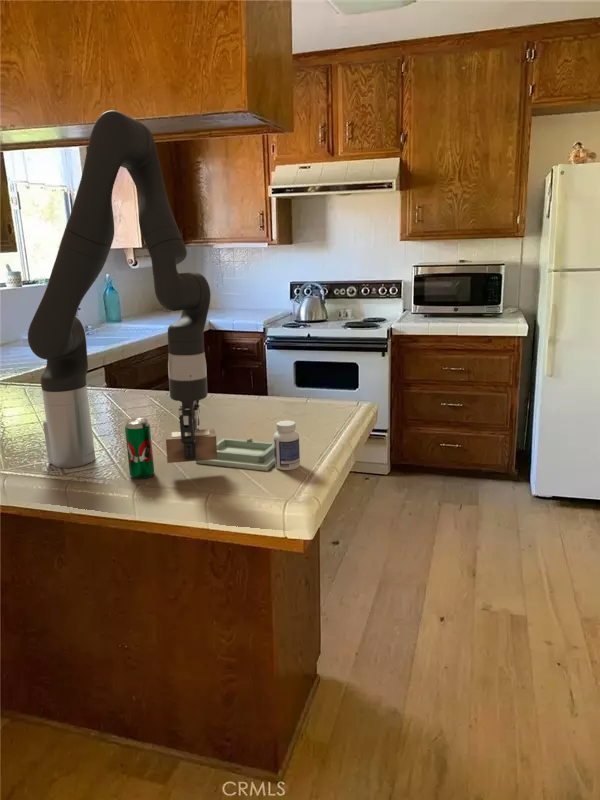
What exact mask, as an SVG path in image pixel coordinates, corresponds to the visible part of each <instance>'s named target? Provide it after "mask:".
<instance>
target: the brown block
mask: <svg viewBox="0 0 600 800" xmlns="http://www.w3.org/2000/svg"><path fill="white" fill-rule="evenodd" d="M186 436H191V433H190V432H186ZM195 438H196V441H195V450H196V458H195V460H185V458H184V443H182V442H181V430H178V431H177V430H175V431H165V443H166V444H165V446H166V448H165V449H166V461H167V462H166V463H167V464H172V463H186V462H196V461H201V460H214V459H217V434H216V430H215V428H205V429H199V430H197V431H196V432H195Z"/></svg>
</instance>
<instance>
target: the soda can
mask: <svg viewBox="0 0 600 800" xmlns="http://www.w3.org/2000/svg"><path fill="white" fill-rule="evenodd" d="M151 430H152V429H151V424H150V422H149V420H148V419H147V418H145V417H136V418H135V417H134V418H130V419H127V420H126V421H125V426H124V433H125V434H124V435H125V443H126V444H125V445H126V452H127V453H126V454H127V460H128V461H127V462H128V469H129V471H128V472H129V476H130V477H132V479H137V480H142V479H148V478H150V477H152V476H153V475H154V473H155V463H154V453H153V443H152V442H153V441H152V433H151Z"/></svg>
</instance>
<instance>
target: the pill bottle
mask: <svg viewBox="0 0 600 800" xmlns="http://www.w3.org/2000/svg"><path fill="white" fill-rule="evenodd" d="M296 427H297V426H296V422H295V421H293V420H281V421H278V422H277V423H276V428H275V429H276V431H275V433H274V434H273V443H274V455H275V464H274V467H275V468H276V469H278V470H281V471H291V470H295V469H297V468H299V467H300V465H301V464H300V463H301V461H300V460H301V459H300V457H301V456H300V435H299V432H298V431H296Z"/></svg>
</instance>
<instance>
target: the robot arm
mask: <svg viewBox="0 0 600 800" xmlns="http://www.w3.org/2000/svg"><path fill="white" fill-rule="evenodd" d="M83 164H84V165H83V168H82V174H81V179H80V182H79V185H78V188H77V191H76V194H75V198H74V202H73V206H72V208H71V211H70V215H69V218H68V220H67V223H66V225H65V228H64V232H63V234H62V237H61V241H60V243H59V246H58V250H57V255H56V256H55V260H54V263H53V266H52V270H51V273H50V276H49V279H48V283H47V285H46V289H45V291H44V294H43V296H42V298H41V301H40V303H39V305H38V307H37V308H36V311H35V313H34V316H33V318H32V320H31V322H30V324H29V327H28V330H27V342H28V345H29V348H30V350H31V352H32V353H33V354H34V355H35V356H36V357H38V358H39V359H42V360H45V361H46V365H45V368H44V371H43V373H42V374H41V377H40V385H41V393H42V400H43V401H42V402H43V405H44V406H43V407H44V408H43V409H44V414H45V420H46V421H44V422H43V424H42V425H43V433H44V441H45V447H46V454H47V462H48V464H51V465H52V466H53V467H57V468H62V469H64V468H65V469H67V468H68V469H69V468H77V467H82V466H85V465H88V464H91V463H92V462H94V460H96V452H95V444H94V435H93V427H92V426H93V425H92V418H91V411H90V409H91V408H90V401H89V395H88V386H87V374H88V369H89V364H88V363H89V362H88V349H87V337H86V332H85V328H84V326H83V323H82V322H81V320H80V319H79V318H78V317H77V312H78V309H79V306H80V305H81V303H82V300H83V299H84V297H85V296H86V295H87V293H88V291H89V290H90V288H91V287H92V286H93V284H94V283H95V281H96V280H97V279H98V277H99V275H100V273H101V272H102V271H103V268H104V266H105V264H106V262H107V259H108V256H109V253H110V251H111V248H112V245H113V243H114V242H113V241H114V237H115V219H114V212H113V211H114V210H113V209H114V208H113V199H112V198H113V190H114V186H115V182H116V180H117V177H118V173H119V171H120V168H124V169H126V171H127V172H128V173H129V176H130V178H131V179H132V181H133V183H134V185H135V188H136V191H137V196H138V223H139V229H140V234H141V236H142V239H143V241H144V243H145V247H146V250H147V252H148V253H149V254H148V255H149V256H150V258H151V267H152V275H153V285H154V288H153V289H154V294H155V296H156V299H157V301H158V303H159V304H160V305H161V306H162V307H163V308H164V309H165V310H167V311H169V312H180V311H182V312H181V315H180V318H178V320H177V321H175V322H173V323H171V324H170V325H169V326H168V328H167V345H168V346H167V347H168V361H167V368H168V369H167V370H168V371H167V372H168V373H167V374H168V385H169V387H168V388H169V398H170V399H171V400H173V401H175V402H177V401H178V402H180V403H181V404H180V405H179V408H178V420H179V429H180V430H179V431H181V442H182V443H184V458H185V460H195V458H196V450H195V441H196V438H195V432H196V431H197V430H200V424H201V422H200V421H201V417H200V416H201V415H200V414H201V405H200V404H199V403H200V401H201V400H202V401H203V400H204V399H206V398H207V397H208V393H209V392H208V377H207V376H208V375H207V360H206V352H205V337H204V331H205V327H206V323H207V319H208V314H209V309H210V304H211V295H212V294H211V288H210V285H209V283H208V280H207V278H205V276H204V274H203V275H202V274H201V273H199V272H192V271H191V272H180V273H179V272H178V268H177V265H179V264H180V263H182V262H183V261H184V260H185V259H187V254H188V251H187V247H186V244H185V242H184V239H183V237H182V234H181V231H180V229H179V227H178V224H177V222H176V219H175V216H174V213H173V210H172V208H171V204H170V201H169V198H168V195H167V194H168V193H167V191H166V185H165V181H164V177H163V173H162V168H161V164H160V159H159V154H158V151H157V146H156V142H155V138H154V136H153V134H152V132H151V130H150V129H149V127H148V126H146V125H145V124H144V123H143V122H140V121H139V120H137V119H135V118H132V117H131V116H129V115H127V114H125V113H123V112H120V111H118V110H115V109H114V110H108V111H105V112H103V113H102V114H100V116H99V117H98V118H97V119H96V120H95V123H94V125H93V127H92V130H91V134H90V136H89V140H88V146H87V150H86V155H85V158H84V163H83ZM186 432H190V433H191V436H186Z"/></svg>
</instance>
